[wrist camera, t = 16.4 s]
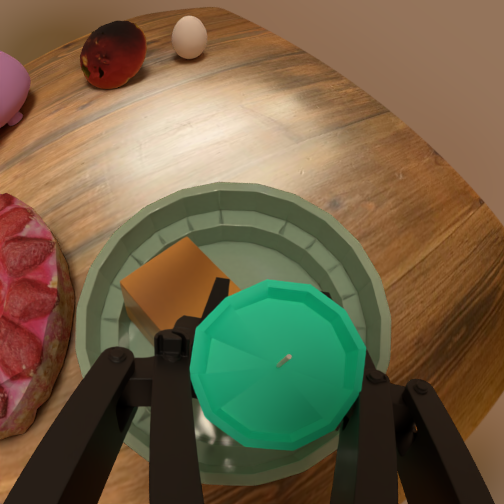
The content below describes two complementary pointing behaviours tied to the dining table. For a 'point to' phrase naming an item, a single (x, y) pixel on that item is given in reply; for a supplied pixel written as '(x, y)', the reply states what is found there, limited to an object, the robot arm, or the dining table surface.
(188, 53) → the egg
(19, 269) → the cake
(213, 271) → the block
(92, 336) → the bowl
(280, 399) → the candle
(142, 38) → the mushroom
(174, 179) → the dining table surface
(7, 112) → the teapot
